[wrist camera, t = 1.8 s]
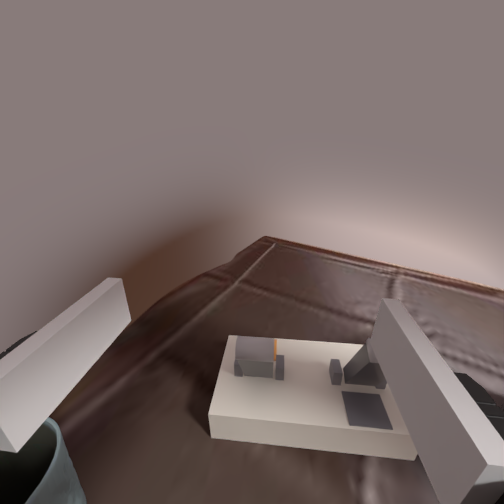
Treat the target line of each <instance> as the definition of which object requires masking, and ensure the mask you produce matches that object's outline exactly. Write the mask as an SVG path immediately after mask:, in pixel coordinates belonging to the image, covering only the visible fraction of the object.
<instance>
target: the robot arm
mask: <svg viewBox="0 0 504 504" xmlns="http://www.w3.org/2000/svg"><path fill="white" fill-rule="evenodd" d="M130 322H131V317H130V313H129V308H128V304H127V300H126V295H125V291H124V287H123V282H122V279H119V278H107V279H106V280H104V281H103V282H102V283H101V284H99V285H98V286H97V287H96V288H94V289H93V290H91V291H90V292H89V293H87V294H86V295H85V296H84V297H82V298H81V299H79V300H78V301H77V302H76V303H74V304H73V305H72V306H70V307H69V308H68V309H66V310H65V311H64V312H62V313H61V314H60V315H58V316H57V317H56V318H54V319H53V320H52V321H51V322H49V323H48V324H47V325H45V326H44V327H43V328H41V329H40V330H39V331H35V332H34V333H32V334H30V335H28V336H26V337H24V338H22V339H20V340H19V341H17V342H16V343H15V344H13V345H12V346H11V347H9V348H8V349H7V350H6V352H2V353H1V354H0V450H2V451H8V452H15V453H17V452H18V451H19V450H20V449H21V448H22V447H23V445H24V444H25V443H26V442H27V441H28V440H29V438H30V437H31V436H32V435H33V434H34V433H35V432H36V430H37V429H38V428H39V427H40V426H41V425H42V423H43V422H44V421H45V420H46V419H47V418H48V416H49V415H50V414H51V413H52V412H53V411H54V410H55V408H56V407H57V406H58V405H59V404H60V403H61V401H62V400H63V399H64V398H65V397H66V396H67V394H68V393H69V392H70V391H71V390H72V389H73V388H74V386H75V385H76V384H77V383H78V382H79V381H80V379H81V378H82V377H83V376H84V375H85V374H86V372H87V371H88V370H89V369H90V368H91V367H92V366H93V364H94V363H95V362H96V361H97V360H98V359H99V357H100V356H101V355H102V354H103V353H104V352H105V350H106V349H107V348H108V347H109V346H110V345H111V344H112V342H113V341H114V340H115V339H116V338H117V337H118V335H119V334H120V333H121V332H122V331H123V330H124V329H125V327H126V326H127V325H128V324H129V323H130ZM370 344H371V347H372V349H373V351H374V353H375V356H376V358H377V360H378V363H379V365H380V367H381V370H382V372H383V374H384V376H385V379H386V381H387V383H388V386H389V388H390V390H391V393H392V395H393V397H394V399H395V402H396V404H397V406H398V409H399V411H400V413H401V416H402V418H403V420H404V422H405V425H406V427H407V429H408V432H409V434H410V436H411V439H412V441H413V443H414V445H415V448H416V450H417V452H418V455H419V457H420V459H421V462H422V464H423V466H424V469H425V471H426V473H427V475H428V478H429V480H430V482H431V485H432V487H433V489H434V492H435V494H436V496H437V498H438V501H439V503H440V504H504V404H503V405H502V407H501V408H499V407H497V406H496V403H495V402H494V400H493V399H492V398H491V397H490V395H489V394H488V393H487V392H486V391H485V389H484V388H483V387H482V386H480V385H479V384H478V383H477V382H475V381H474V380H473V379H472V378H471V377H469V376H468V375H467V374H463V373H453V372H452V370H451V369H450V367H449V366H448V365H447V363H446V362H445V361H444V359H443V358H442V357H441V355H440V354H439V353H438V351H437V350H436V349H435V347H434V346H433V345H432V343H431V342H430V341H429V339H428V338H427V337H426V335H425V334H424V332H423V331H422V330H421V328H420V327H419V326H418V324H417V323H416V322H415V320H414V319H413V318H412V316H411V315H410V314H409V312H408V311H407V310H406V308H405V307H404V306H403V304H402V303H401V302H400V300H399V299H386V298H382V300H381V303H380V307H379V311H378V314H377V318H376V322H375V326H374V329H373V333H372V337H371V340H370Z"/></svg>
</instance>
